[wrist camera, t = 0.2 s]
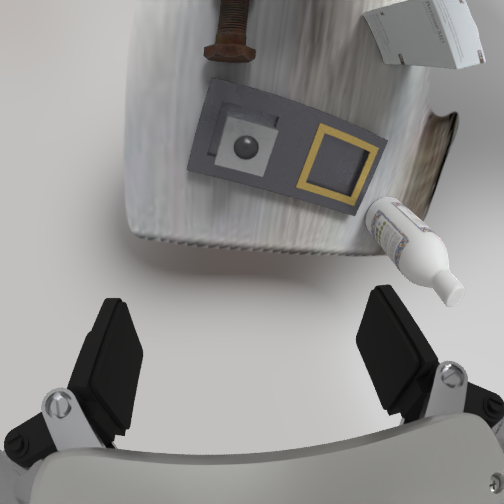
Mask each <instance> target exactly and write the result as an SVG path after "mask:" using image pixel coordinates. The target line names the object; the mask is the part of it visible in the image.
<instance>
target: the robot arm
mask: <svg viewBox="0 0 504 504" xmlns="http://www.w3.org/2000/svg"><path fill="white" fill-rule="evenodd" d="M356 344H357V347H358V349H359V351H360V354H361V356H362V358H363V361H364V363H365V365H366V368H367V370H368V372H369V375H370V377H371V380H372V382H373V385H374V387H375V390H376V392H377V395H378V397H379V400H380V402H381V405H382V407H383V409H384V410H387V412H388V414H389V416H390V415H393V414H396V413H401V416H402V420H401V422H400V425H399V426H397V427H393V428H390V429H386V430H383V431H379V432H376V433H372V434H368V435H364V436H360V437H356V438H352V439H347V440H343V441H338V442H333V443H328V444H322V445H317V446H311V447H304V448H298V449H290V450H282V451H274V452H264V453H250V454H231V455H230V454H229V455H185V454H166V453H151V452H139V451H130V450H121V449H117V447H116V445H115V444H114V442H113V441H114V439H115V435H121V436H125V431H126V429H129V428H130V424H131V418H132V412H133V405H134V400H135V395H136V390H137V384H138V379H139V374H140V369H141V364H142V359H143V349H142V346H141V344H140V341H139V338H138V336H137V333H136V330H135V328H134V325H133V322H132V319H131V316H130V313H129V310H128V307H127V304H126V303H125V302H122V300H121V299H120V298H106V299H105V300H104V302H103V305H102V307H101V309H100V311H99V314H98V316H97V319H96V321H95V323H94V326H93V328H92V331H90V332H89V333H88V334H87V336H86V338H85V341H84V343H83V346H82V348H81V351H80V354H79V356H78V359H77V362H76V364H75V367H74V370H73V372H72V375H71V378H70V381H69V384H68V387H67V389H65V388H56V389H54V390H51V391H50V392H49V393H47V395H46V396H45V397H44V399H43V401H42V407H41V409H42V412H41V413H39V414H37V415H36V416H34V417H32V418H31V419H29V420H27V421H26V422H24V423H22V424H21V425H19V426H17V427H16V428H14V429H13V430H11V431H10V432H9V433H8V434H7V436H6V437H5V441H4V449H5V450H4V451H3V452H2V451H1V450H0V504H504V402H503V400H502V399H501V397H500V396H499V395H497V394H496V393H493V392H491V391H488V390H486V389H484V388H481V387H479V386H477V385H474V384H472V383H470V382H468V377H467V374H466V371H465V370H464V368H463V367H462V366H460V365H459V364H458V363H455V362H452V361H445V362H443V363H441V364H440V363H439V362H438V358H437V356H436V354H435V353H434V351H433V349H432V348H431V346H430V344H429V343H428V341H427V340H426V338H425V336H424V335H423V333H422V331H421V330H420V328H419V327H418V325H417V324H416V322H415V321H414V319H413V317H412V316H411V314H410V313H409V311H408V310H407V308H406V307H405V305H404V304H403V302H402V301H401V300H400V298H399V296H398V295H397V294H396V292H395V291H394V289H393V288H392V286H391V285H379V286H376V287H375V288H374V290H372V291H371V292H370V296H369V299H368V302H367V305H366V309H365V312H364V315H363V318H362V321H361V324H360V327H359V330H358V333H357V336H356Z"/></svg>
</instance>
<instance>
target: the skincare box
mask: <svg viewBox="0 0 504 504" xmlns="http://www.w3.org/2000/svg"><path fill="white" fill-rule="evenodd" d="M363 16H364V18H365V20H366V21H367V23H368V25H369V27H370V29H371V31H372V33H373V35H374V38H375V40H376V42H377V45H378V47H379V50H380V53H381V55H382V59H383V61H384V63H385V64H395V65H416V66H430V67H438V68H439V67H440V68H449V69H461V68H465V67H469V66H473V65H477V64H482V63H486V60H485V57H484V54H483V49H482V46H481V43H480V39H479V33H478V29H477V26H476V24H475V22H474V20H473V18H472V16H471V13H470V11H469V8H468V5H467V3H466V1H465V0H408V1H404V2H400V3H396V4H392V5H389V6H385V7H381V8H378V9H375V10H371V11H368V12H365V13H364V14H363Z"/></svg>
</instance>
